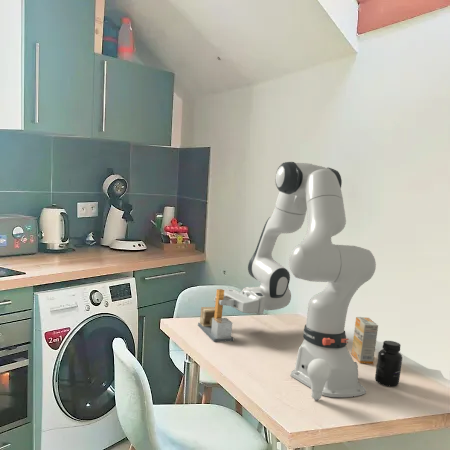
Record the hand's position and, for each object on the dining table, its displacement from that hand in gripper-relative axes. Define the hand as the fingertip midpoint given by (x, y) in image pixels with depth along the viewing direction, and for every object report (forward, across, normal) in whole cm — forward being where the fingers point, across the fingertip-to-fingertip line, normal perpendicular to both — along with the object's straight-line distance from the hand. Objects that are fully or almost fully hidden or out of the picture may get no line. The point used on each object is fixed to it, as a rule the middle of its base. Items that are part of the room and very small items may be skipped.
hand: (217, 301), depth 182 cm
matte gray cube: (0, +4, +11) cm, 12 cm away
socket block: (-2, -8, +11) cm, 14 cm away
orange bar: (-1, +2, +10) cm, 10 cm away
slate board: (-1, -2, +12) cm, 12 cm away
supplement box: (-36, +35, +12) cm, 52 cm away
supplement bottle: (-29, +52, +12) cm, 61 cm away
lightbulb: (0, +54, +12) cm, 55 cm away
